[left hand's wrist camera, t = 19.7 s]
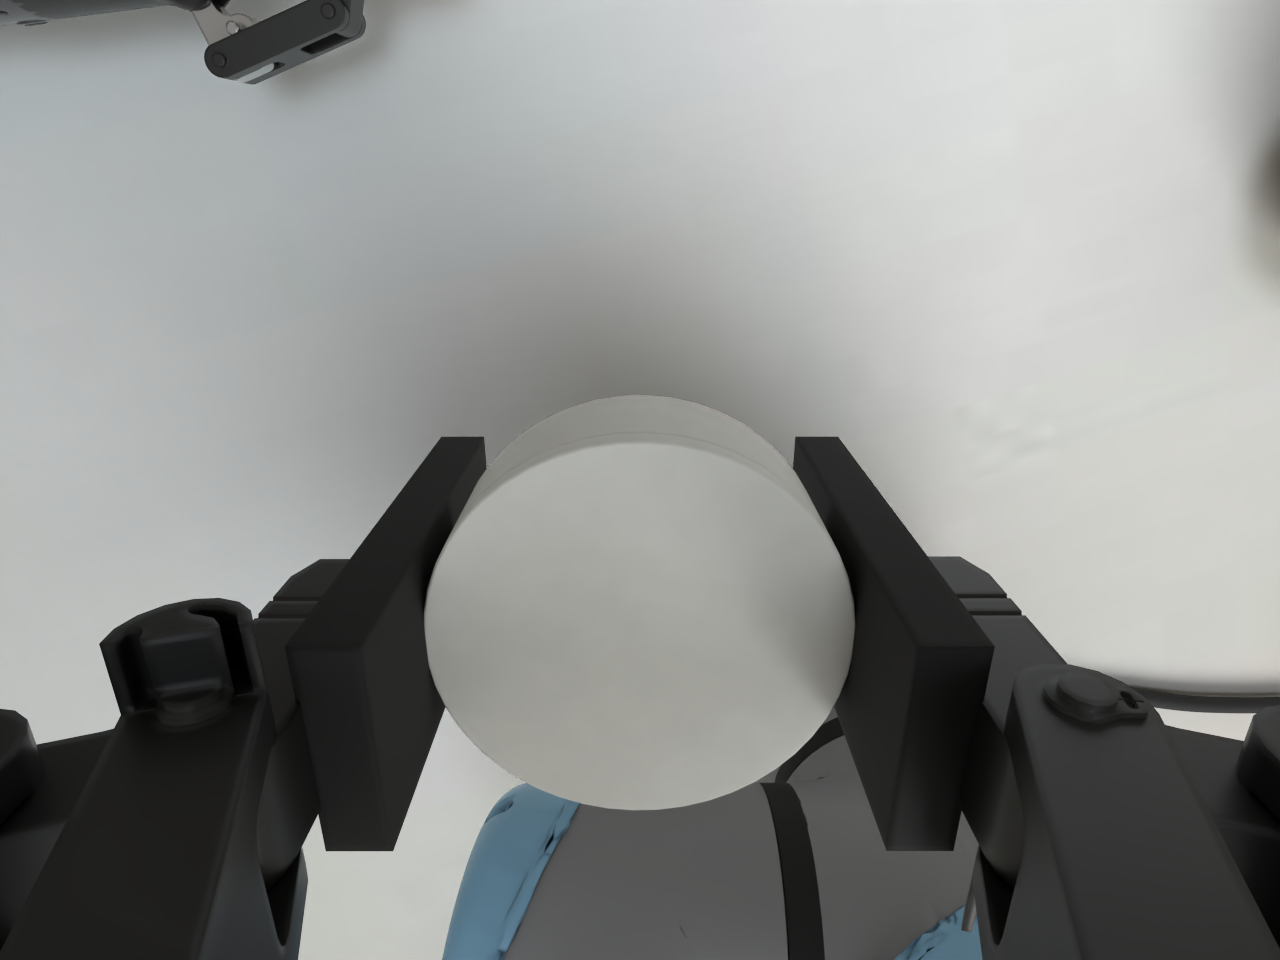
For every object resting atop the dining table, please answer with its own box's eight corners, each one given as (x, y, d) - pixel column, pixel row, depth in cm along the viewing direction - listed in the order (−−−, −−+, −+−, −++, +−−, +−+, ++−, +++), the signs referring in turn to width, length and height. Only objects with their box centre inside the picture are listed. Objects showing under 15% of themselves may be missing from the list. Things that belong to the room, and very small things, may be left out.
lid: (799, 721, 13) (827, 816, 11) (466, 712, 13) (437, 806, 11) (843, 400, 11) (888, 449, 9) (447, 386, 11) (405, 433, 9)
